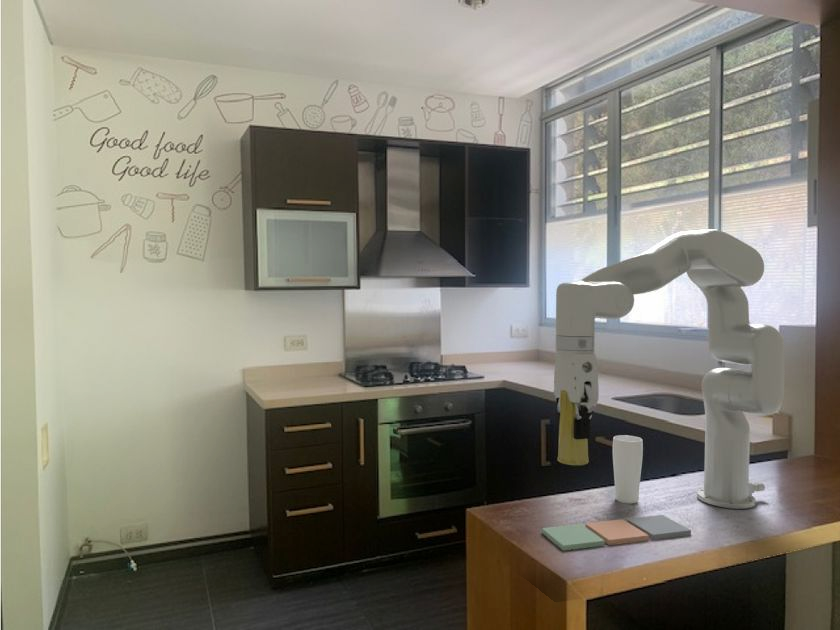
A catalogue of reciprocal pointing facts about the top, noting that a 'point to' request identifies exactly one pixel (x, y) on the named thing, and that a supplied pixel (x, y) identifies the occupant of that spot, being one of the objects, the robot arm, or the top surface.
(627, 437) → the drinking glass
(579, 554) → the top surface
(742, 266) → the robot arm
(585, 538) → the green coaster
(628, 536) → the terracotta coaster
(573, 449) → the vase
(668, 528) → the grey coaster
